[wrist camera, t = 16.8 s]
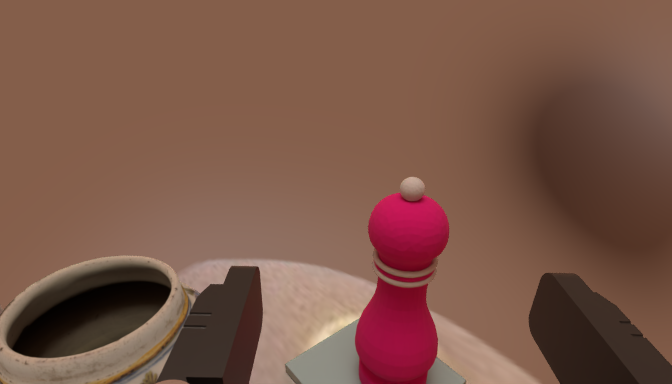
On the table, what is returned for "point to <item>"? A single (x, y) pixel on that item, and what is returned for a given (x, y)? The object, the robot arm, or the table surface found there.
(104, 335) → the apothecary jar
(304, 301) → the table surface
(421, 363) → the pepper mill
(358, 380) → the board
